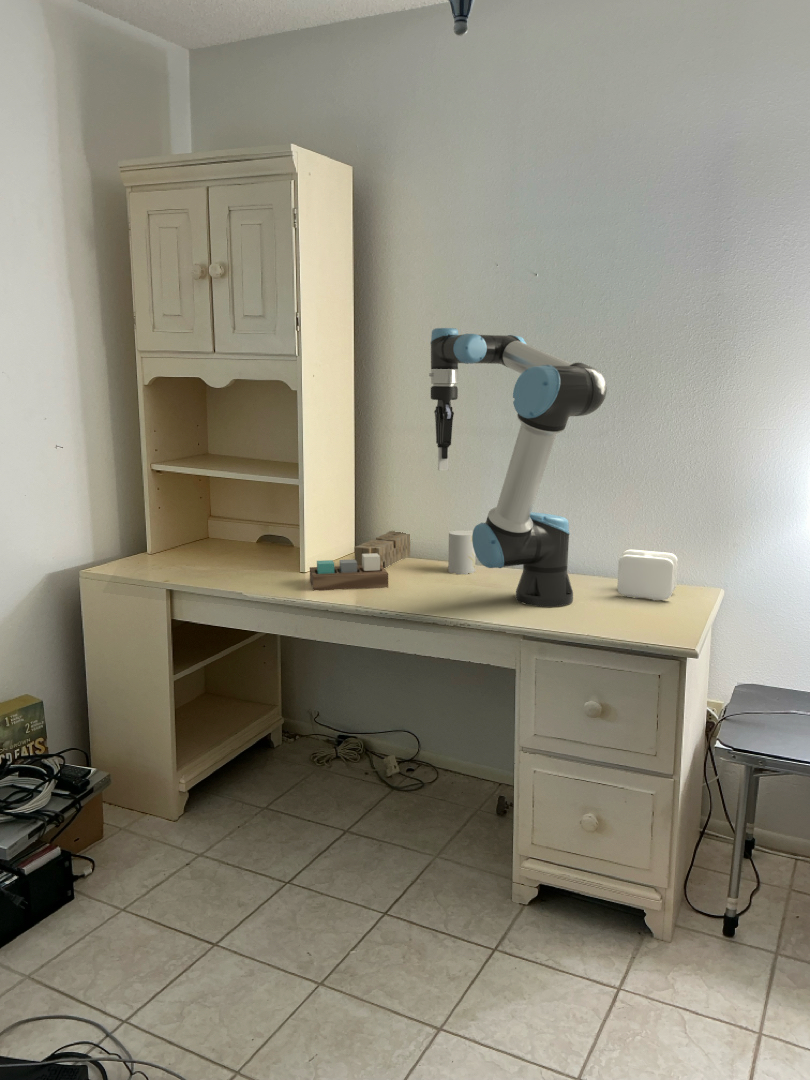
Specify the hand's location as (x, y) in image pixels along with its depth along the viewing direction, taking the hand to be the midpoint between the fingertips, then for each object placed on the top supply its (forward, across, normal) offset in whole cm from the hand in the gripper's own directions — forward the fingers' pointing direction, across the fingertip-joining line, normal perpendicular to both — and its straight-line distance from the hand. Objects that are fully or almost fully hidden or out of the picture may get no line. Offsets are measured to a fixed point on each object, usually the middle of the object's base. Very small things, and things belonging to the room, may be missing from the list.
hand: (443, 470), depth 247 cm
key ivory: (+28, -2, -21) cm, 35 cm away
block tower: (+33, -30, -12) cm, 46 cm away
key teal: (+30, -2, -33) cm, 45 cm away
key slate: (+30, -2, -27) cm, 40 cm away
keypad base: (+32, -2, -27) cm, 42 cm away
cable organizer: (+33, +25, +51) cm, 66 cm away
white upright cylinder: (+33, -12, +9) cm, 36 cm away
